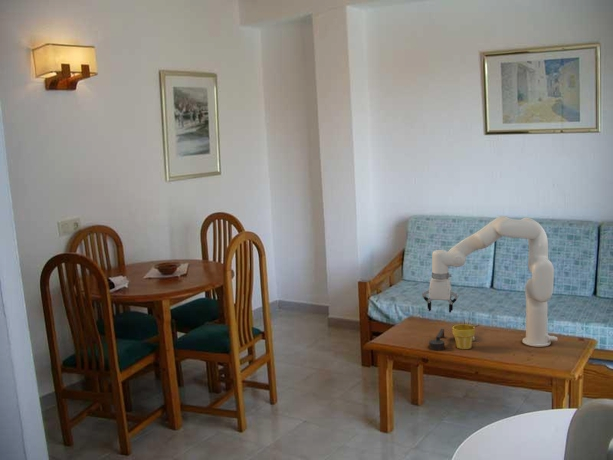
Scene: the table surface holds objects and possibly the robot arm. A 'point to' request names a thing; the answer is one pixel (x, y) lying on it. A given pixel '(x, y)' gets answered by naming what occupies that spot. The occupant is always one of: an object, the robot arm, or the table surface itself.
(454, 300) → the robot arm
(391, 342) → the table surface
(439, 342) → the ladle
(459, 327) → the flower pot
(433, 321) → the table surface
